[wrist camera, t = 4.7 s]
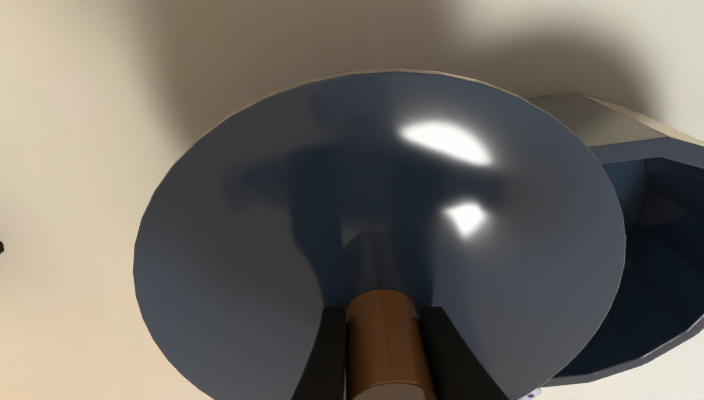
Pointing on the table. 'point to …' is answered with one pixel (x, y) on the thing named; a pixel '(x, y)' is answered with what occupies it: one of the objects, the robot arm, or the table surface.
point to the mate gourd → (1, 248)
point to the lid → (379, 237)
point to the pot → (642, 234)
